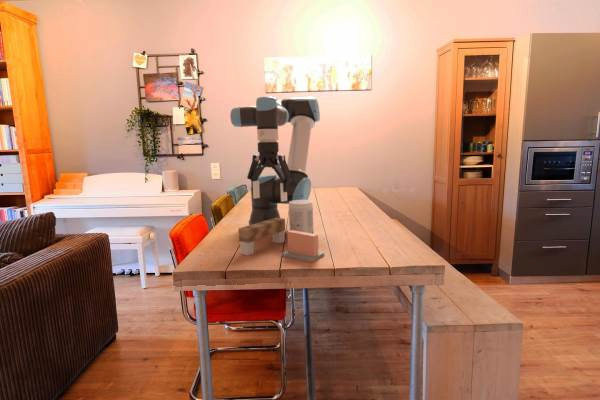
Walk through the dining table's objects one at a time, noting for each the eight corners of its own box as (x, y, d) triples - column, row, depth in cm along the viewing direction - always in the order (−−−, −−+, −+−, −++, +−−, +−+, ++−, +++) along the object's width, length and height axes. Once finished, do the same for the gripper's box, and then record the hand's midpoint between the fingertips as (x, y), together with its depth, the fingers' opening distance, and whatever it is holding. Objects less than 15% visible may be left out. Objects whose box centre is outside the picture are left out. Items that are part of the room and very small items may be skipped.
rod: (248, 243, 122) (247, 230, 122) (239, 241, 125) (238, 228, 124) (285, 230, 138) (284, 218, 137) (276, 228, 141) (276, 217, 140)
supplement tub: (306, 233, 150) (306, 198, 148) (317, 238, 142) (317, 202, 139) (285, 236, 146) (284, 200, 144) (295, 242, 138) (294, 204, 135)
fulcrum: (281, 255, 122) (281, 233, 121) (296, 249, 128) (295, 228, 127) (310, 262, 115) (310, 238, 114) (324, 255, 121) (323, 232, 120)
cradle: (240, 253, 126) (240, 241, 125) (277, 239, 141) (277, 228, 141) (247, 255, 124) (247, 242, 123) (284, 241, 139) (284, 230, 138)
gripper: (236, 142, 134) (239, 198, 137) (288, 141, 119) (289, 203, 122) (250, 141, 140) (252, 195, 143) (301, 140, 125) (302, 200, 128)
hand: (269, 199), depth 133 cm, fingers open, 13 cm apart
